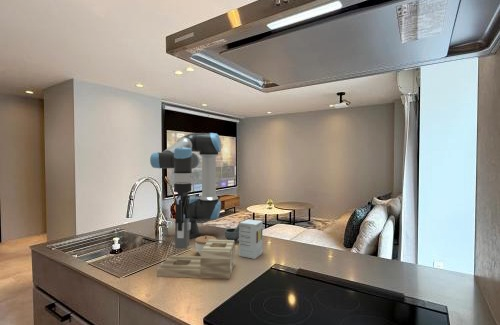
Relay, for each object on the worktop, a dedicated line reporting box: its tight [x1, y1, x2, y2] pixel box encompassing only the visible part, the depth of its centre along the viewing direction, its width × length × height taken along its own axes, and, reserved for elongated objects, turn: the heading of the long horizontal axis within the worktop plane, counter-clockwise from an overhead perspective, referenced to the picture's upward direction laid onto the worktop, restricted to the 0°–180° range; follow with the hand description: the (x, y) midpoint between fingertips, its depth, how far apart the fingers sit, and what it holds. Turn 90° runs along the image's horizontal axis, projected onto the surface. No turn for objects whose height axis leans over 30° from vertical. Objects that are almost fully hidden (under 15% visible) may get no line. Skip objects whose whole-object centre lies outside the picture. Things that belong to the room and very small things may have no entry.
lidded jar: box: [194, 235, 217, 256], centre depth 131 cm, size 11×11×9 cm
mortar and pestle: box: [224, 221, 241, 245], centre depth 150 cm, size 11×9×12 cm
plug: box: [174, 214, 191, 249], centre depth 112 cm, size 4×6×14 cm
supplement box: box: [238, 219, 264, 260], centre depth 130 cm, size 10×9×17 cm
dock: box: [156, 239, 235, 280], centre depth 112 cm, size 15×30×11 cm, turn 87°
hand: (182, 236), depth 112 cm, fingers closed on plug, 4 cm apart
